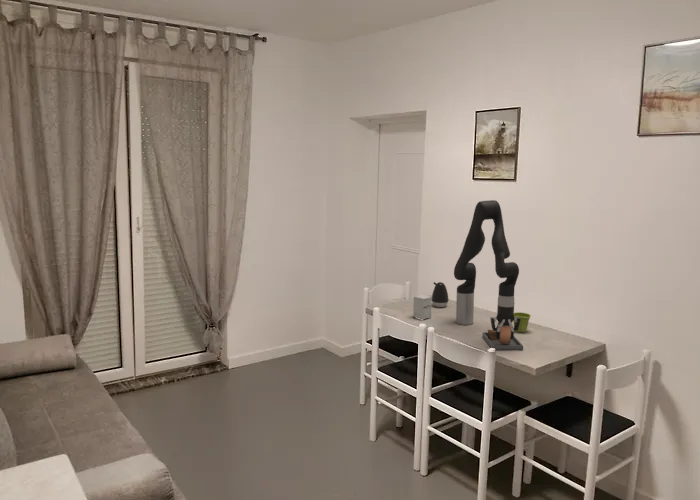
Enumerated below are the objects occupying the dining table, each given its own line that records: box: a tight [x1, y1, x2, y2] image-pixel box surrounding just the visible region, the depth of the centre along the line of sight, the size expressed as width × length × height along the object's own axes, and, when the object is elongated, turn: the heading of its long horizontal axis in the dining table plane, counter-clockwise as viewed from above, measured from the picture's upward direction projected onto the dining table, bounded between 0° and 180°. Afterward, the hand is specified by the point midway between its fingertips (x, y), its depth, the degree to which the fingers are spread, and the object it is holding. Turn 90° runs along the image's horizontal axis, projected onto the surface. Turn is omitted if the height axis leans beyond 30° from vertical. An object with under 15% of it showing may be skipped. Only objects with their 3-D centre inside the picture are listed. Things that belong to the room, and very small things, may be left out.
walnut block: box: [487, 329, 498, 340], centre depth 260 cm, size 4×4×4 cm
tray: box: [481, 331, 524, 351], centre depth 255 cm, size 20×14×2 cm
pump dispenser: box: [431, 281, 449, 308], centre depth 322 cm, size 10×10×15 cm
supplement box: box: [412, 294, 432, 319], centre depth 297 cm, size 7×7×13 cm
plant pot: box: [513, 311, 532, 334], centre depth 273 cm, size 9×9×9 cm
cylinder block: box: [498, 325, 511, 344], centre depth 251 cm, size 6×6×8 cm
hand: (504, 338), depth 251 cm, fingers closed on cylinder block, 5 cm apart
